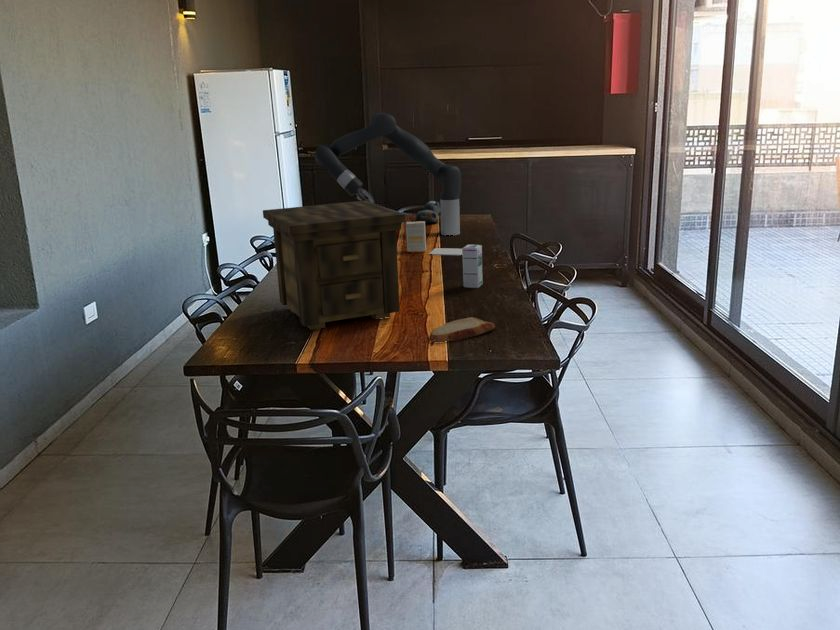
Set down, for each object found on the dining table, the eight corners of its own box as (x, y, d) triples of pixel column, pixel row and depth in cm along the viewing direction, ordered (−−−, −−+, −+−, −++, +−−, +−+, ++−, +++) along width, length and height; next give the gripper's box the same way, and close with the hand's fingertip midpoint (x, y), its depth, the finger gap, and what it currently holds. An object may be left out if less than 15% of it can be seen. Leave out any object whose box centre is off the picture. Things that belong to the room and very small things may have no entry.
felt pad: (435, 249, 326) (435, 248, 326) (475, 249, 321) (475, 248, 321) (428, 254, 315) (428, 253, 315) (469, 255, 310) (469, 254, 310)
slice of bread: (427, 344, 204) (426, 331, 203) (436, 324, 221) (436, 312, 220) (491, 345, 201) (491, 332, 200) (496, 325, 218) (496, 313, 217)
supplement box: (426, 250, 324) (425, 220, 320) (425, 252, 319) (424, 222, 315) (408, 250, 325) (406, 221, 321) (406, 252, 320) (405, 223, 316)
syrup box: (478, 288, 258) (478, 247, 254) (462, 287, 260) (461, 247, 256) (483, 284, 264) (482, 244, 259) (467, 283, 266) (466, 244, 261)
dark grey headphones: (410, 222, 395) (417, 198, 397) (430, 229, 399) (437, 205, 400) (420, 218, 381) (427, 193, 383) (440, 225, 385) (447, 200, 386)
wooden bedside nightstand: (371, 293, 256) (365, 200, 247) (409, 319, 226) (405, 214, 216) (272, 308, 243) (262, 210, 234) (299, 337, 213) (289, 226, 203)
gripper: (349, 178, 313) (378, 206, 314) (360, 174, 326) (387, 202, 326) (339, 190, 316) (367, 218, 317) (349, 186, 329) (377, 213, 329)
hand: (377, 210), depth 321 cm, fingers closed
